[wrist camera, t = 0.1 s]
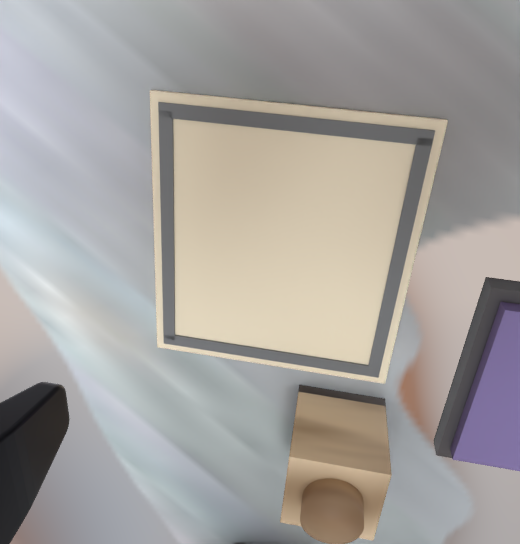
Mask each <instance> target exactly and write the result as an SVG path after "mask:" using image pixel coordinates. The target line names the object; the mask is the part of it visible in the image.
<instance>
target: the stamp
mask: <svg viewBox="0 0 520 544" xmlns="http://www.w3.org/2000/svg"><path fill="white" fill-rule="evenodd" d="M390 479H391V464H390V453H389V441H388V429H387V418H386V406H385V399H383V398H377V397H370V396H364V395H358V394H352V393H346V392H340V391H334V390H328V389H322V388H316V387H309V386H303V385H299V392H298V399H297V406H296V413H295V420H294V427H293V434H292V441H291V448H290V455H289V462H288V469H287V476H286V484H285V491H284V498H283V505H282V513H281V520H280V522H281V523H286V524H291V525H297V526H302V528H303V529H304V531H305V532H306V533H307V534H308V535H310V536H311V537H313V538H314V539H316V540H319V541H321V542H324V543H329V544H345V543H349V542H352V541H354V540H356V539H357V538H362V539H368V540H374V536H375V532H376V529H377V525H378V522H379V518H380V515H381V511H382V507H383V504H384V500H385V497H386V493H387V489H388V486H389V482H390Z"/></svg>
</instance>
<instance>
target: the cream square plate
mask: <svg viewBox="0 0 520 544" xmlns="http://www.w3.org/2000/svg"><path fill="white" fill-rule="evenodd" d="M150 116H151V150H152V184H153V218H154V252H155V286H156V320H157V347H159V348H166V349H172V350H178V351H184V352H190V353H197V354H203V355H209V356H215V357H221V358H228V359H234V360H240V361H246V362H253V363H259V364H265V365H271V366H277V367H284V368H290V369H296V370H302V371H309V372H315V373H321V374H327V375H333V376H340V377H346V378H352V379H358V380H365V381H371V382H377V383H383V384H385V381H386V377H387V373H388V369H389V365H390V360H391V356H392V352H393V348H394V344H395V340H396V335H397V331H398V327H399V323H400V319H401V315H402V310H403V306H404V302H405V298H406V294H407V290H408V285H409V281H410V277H411V273H412V269H413V264H414V260H415V256H416V252H417V248H418V244H419V240H420V235H421V231H422V227H423V223H424V219H425V215H426V210H427V206H428V202H429V198H430V194H431V190H432V185H433V181H434V177H435V173H436V169H437V165H438V160H439V156H440V152H441V148H442V144H443V139H444V135H445V131H446V127H447V123H448V120H447V119H437V118H427V117H417V116H407V115H397V114H387V113H377V112H367V111H357V110H347V109H337V108H327V107H317V106H307V105H298V104H288V103H278V102H268V101H258V100H248V99H238V98H228V97H218V96H208V95H198V94H188V93H178V92H168V91H158V90H151V91H150Z"/></svg>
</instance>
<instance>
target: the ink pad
mask: <svg viewBox="0 0 520 544" xmlns="http://www.w3.org/2000/svg"><path fill="white" fill-rule="evenodd" d="M434 445H435V451H436V455H438V456H444V457H449V458H452V459H453V460H459V461H465V462H470V463H476V464H482V465H487V466H493V467H499V468H505V469H511V470H516V471H520V282H518V281H511V280H504V279H496V278H489V277H486V279H485V282H484V285H483V288H482V291H481V294H480V297H479V300H478V304H477V307H476V310H475V313H474V316H473V319H472V322H471V325H470V329H469V332H468V335H467V338H466V341H465V344H464V347H463V351H462V354H461V357H460V360H459V363H458V367H457V370H456V372H455V376H454V379H453V382H452V385H451V388H450V391H449V394H448V398H447V401H446V404H445V407H444V410H443V413H442V416H441V419H440V423H439V426H438V429H437V432H436V435H435V438H434Z"/></svg>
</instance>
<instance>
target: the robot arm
mask: <svg viewBox="0 0 520 544" xmlns="http://www.w3.org/2000/svg"><path fill="white" fill-rule="evenodd" d="M68 425H69V412H68V406H67V397H66V391H65V388H64V387H63V386H62V385H59V384H53V383H48V382H41V383H38V384H36V385H34V386H32V387H30V388H28V389H26V390H24V391H22V392H20V393H18V394H16V395H15V396H13V397H11V398H9V399H7V400H5V401H3V402H1V403H0V544H9V543H10V542H11V541H12V539H13V537H14V535H15V534H16V532H17V531H18V529H19V527H20V526H21V524H22V522H23V520H24V519H25V517H26V515H27V513H28V511H29V510H30V508H31V506H32V504H33V502H34V500H35V498H36V496H37V494H38V492H39V489H40V487H41V485H42V483H43V481H44V479H45V477H46V475H47V473H48V470H49V468H50V466H51V464H52V462H53V460H54V457H55V455H56V453H57V451H58V449H59V447H60V445H61V443H62V441H63V438H64V436H65V434H66V432H67V429H68Z"/></svg>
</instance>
